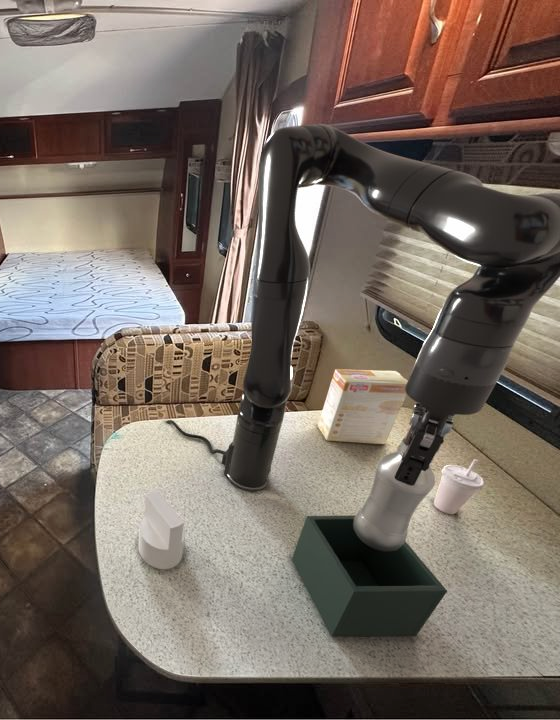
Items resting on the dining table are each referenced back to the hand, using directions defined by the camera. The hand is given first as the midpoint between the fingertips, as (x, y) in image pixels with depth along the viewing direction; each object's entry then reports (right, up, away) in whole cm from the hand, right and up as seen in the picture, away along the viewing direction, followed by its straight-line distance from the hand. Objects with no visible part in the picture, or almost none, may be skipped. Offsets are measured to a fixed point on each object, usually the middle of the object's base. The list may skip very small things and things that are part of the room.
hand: (406, 468), depth 54 cm
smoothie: (+34, -17, +29) cm, 47 cm away
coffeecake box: (+29, -6, +51) cm, 59 cm away
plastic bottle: (+1, -14, +7) cm, 16 cm away
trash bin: (+1, -27, +13) cm, 30 cm away
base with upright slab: (-31, -23, +23) cm, 45 cm away
